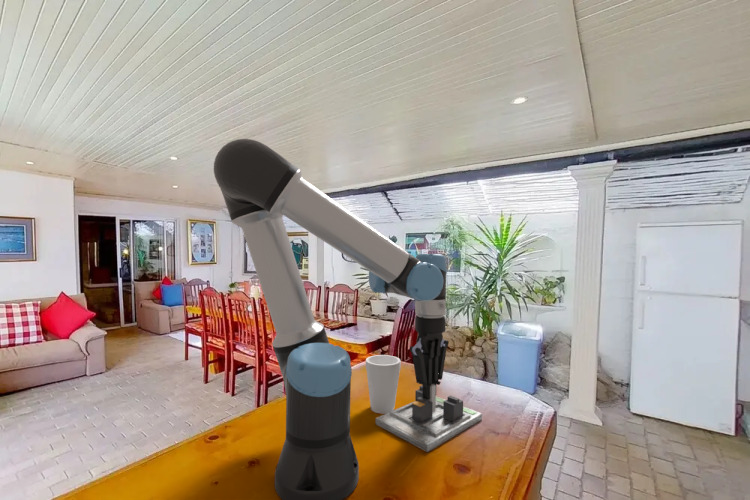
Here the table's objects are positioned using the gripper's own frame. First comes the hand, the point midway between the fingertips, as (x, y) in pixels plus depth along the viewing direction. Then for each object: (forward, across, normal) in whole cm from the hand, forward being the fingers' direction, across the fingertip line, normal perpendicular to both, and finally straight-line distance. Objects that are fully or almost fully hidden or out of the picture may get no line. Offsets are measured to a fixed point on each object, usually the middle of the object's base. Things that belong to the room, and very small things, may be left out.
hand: (429, 410), depth 85 cm
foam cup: (+3, -3, +13) cm, 14 cm away
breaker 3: (+1, +4, -4) cm, 6 cm away
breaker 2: (+1, -3, 0) cm, 3 cm away
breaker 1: (+1, +4, +4) cm, 6 cm away
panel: (+3, 0, 0) cm, 3 cm away
